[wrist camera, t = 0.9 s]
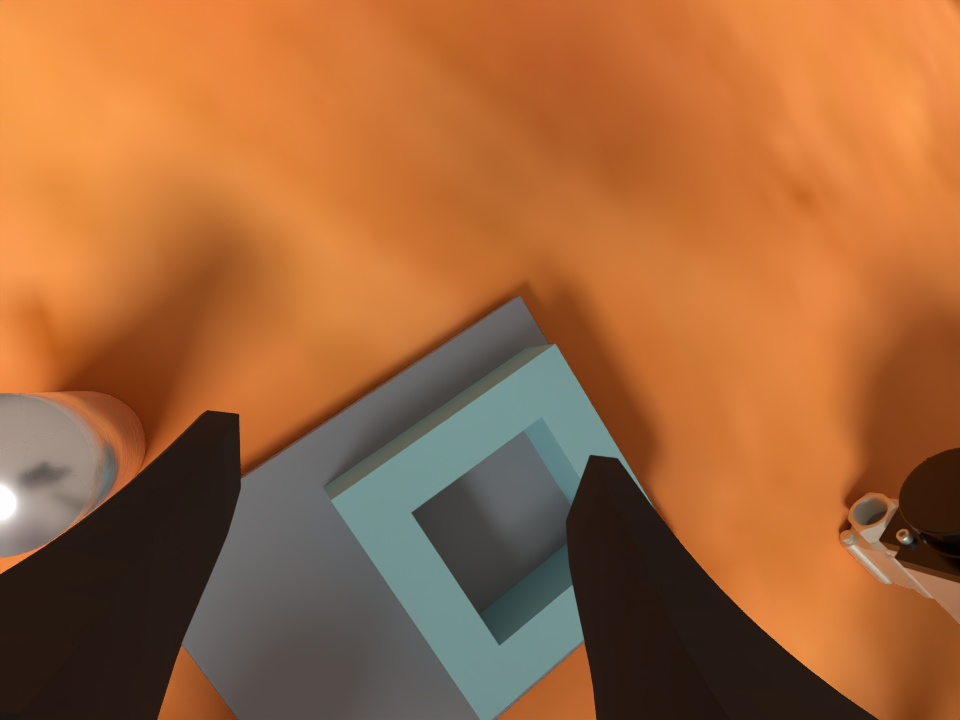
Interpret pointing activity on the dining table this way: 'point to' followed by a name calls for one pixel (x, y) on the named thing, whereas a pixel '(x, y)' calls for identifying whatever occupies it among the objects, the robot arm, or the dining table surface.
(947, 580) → the pneumatic valve
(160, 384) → the dining table surface
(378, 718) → the block
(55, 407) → the pin
